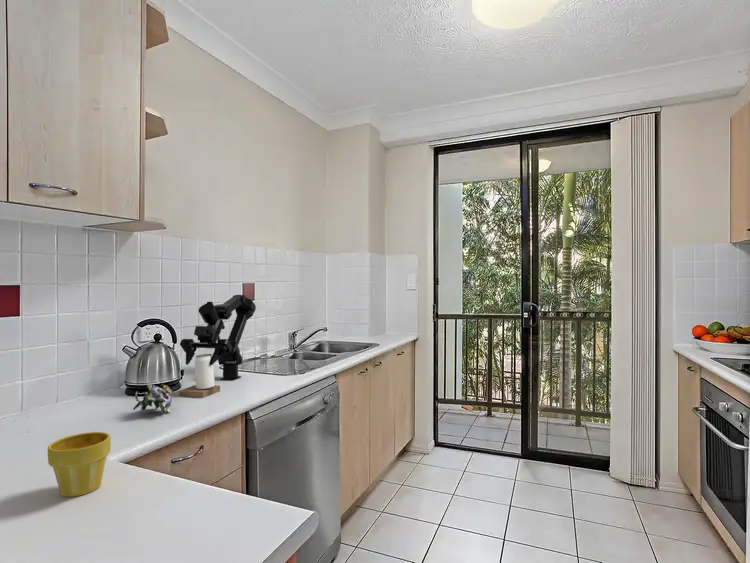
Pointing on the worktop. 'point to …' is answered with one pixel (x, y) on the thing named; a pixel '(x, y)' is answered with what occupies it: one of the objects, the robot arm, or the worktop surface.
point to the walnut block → (198, 392)
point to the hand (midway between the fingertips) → (198, 364)
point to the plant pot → (79, 462)
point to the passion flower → (156, 398)
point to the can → (204, 372)
